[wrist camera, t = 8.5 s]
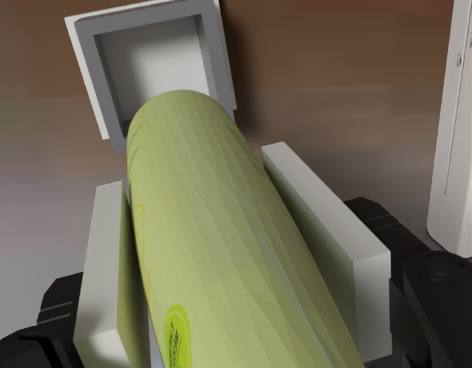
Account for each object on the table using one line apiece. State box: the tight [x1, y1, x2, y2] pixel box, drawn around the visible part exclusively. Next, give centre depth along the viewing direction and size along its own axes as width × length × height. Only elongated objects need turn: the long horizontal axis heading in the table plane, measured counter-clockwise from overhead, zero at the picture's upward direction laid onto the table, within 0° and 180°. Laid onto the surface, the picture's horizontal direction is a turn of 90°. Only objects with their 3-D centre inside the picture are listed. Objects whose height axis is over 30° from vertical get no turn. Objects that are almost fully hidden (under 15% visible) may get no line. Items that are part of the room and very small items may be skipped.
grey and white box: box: [64, 0, 237, 154], centre depth 35 cm, size 12×10×6 cm
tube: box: [127, 90, 365, 368], centre depth 12 cm, size 6×5×20 cm
